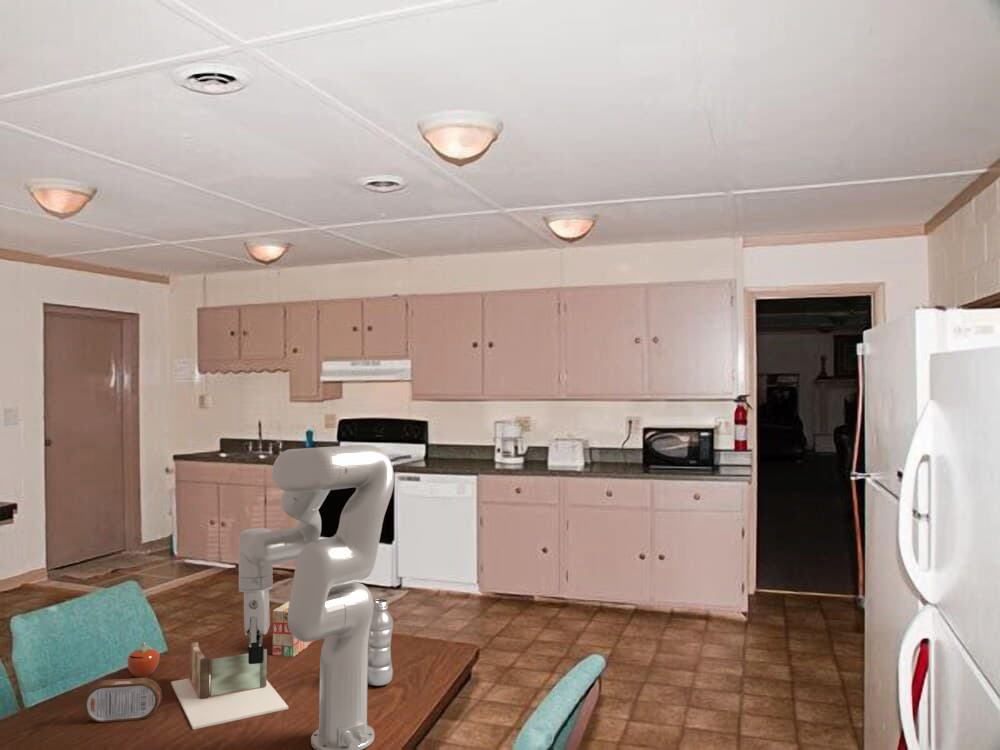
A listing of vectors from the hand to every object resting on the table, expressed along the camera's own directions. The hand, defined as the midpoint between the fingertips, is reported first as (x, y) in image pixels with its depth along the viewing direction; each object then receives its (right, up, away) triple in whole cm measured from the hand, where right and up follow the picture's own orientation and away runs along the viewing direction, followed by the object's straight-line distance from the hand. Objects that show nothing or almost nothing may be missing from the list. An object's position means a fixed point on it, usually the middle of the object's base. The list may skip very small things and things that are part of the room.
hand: (256, 662), depth 173 cm
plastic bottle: (+27, -9, +8) cm, 30 cm away
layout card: (-7, -8, +1) cm, 11 cm away
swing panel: (-5, -7, +2) cm, 9 cm away
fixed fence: (-15, -8, +4) cm, 17 cm away
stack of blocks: (0, -9, +38) cm, 39 cm away
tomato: (-33, -8, +13) cm, 36 cm away
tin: (-25, -8, -12) cm, 29 cm away
